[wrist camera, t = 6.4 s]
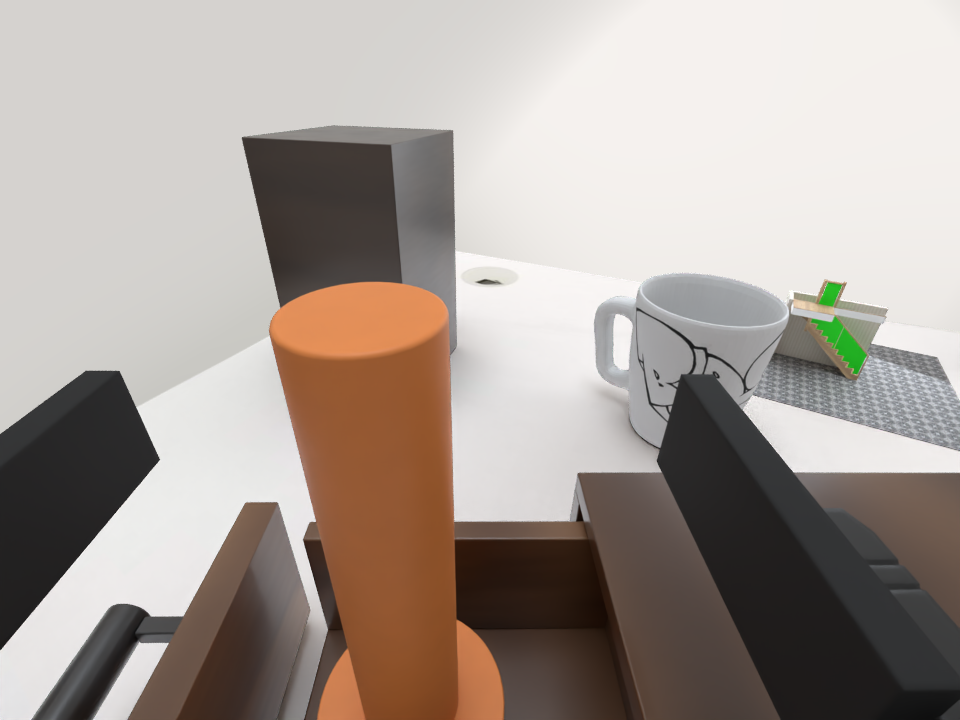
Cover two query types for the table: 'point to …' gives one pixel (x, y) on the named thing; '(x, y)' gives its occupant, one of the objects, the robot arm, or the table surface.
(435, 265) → the stand
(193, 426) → the table surface
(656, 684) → the cabinet
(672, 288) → the mug
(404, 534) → the orange tower post
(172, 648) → the drawer
